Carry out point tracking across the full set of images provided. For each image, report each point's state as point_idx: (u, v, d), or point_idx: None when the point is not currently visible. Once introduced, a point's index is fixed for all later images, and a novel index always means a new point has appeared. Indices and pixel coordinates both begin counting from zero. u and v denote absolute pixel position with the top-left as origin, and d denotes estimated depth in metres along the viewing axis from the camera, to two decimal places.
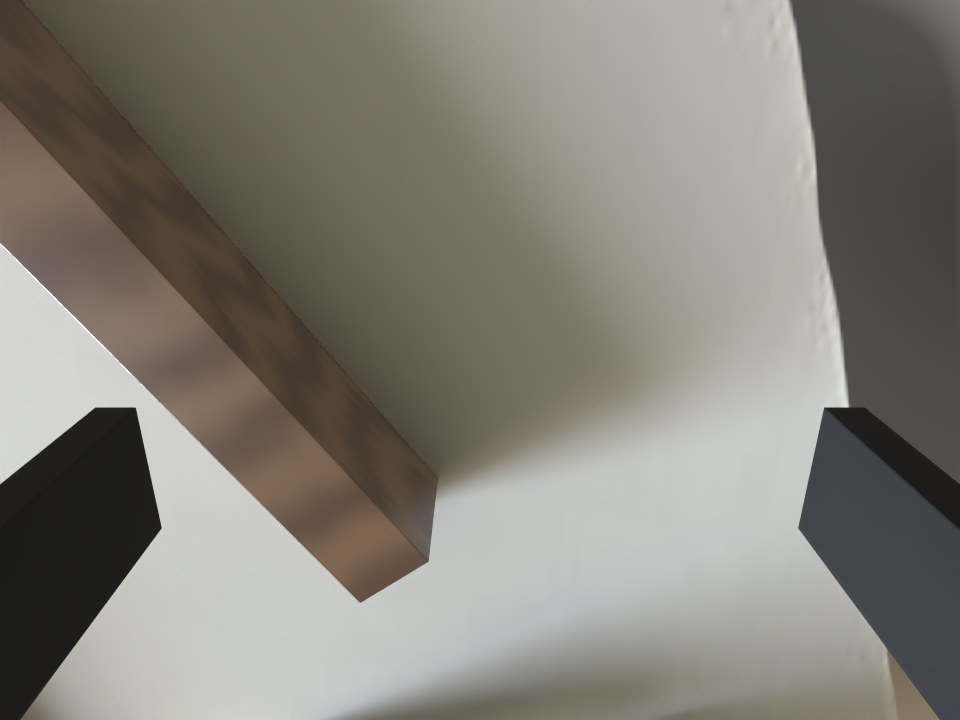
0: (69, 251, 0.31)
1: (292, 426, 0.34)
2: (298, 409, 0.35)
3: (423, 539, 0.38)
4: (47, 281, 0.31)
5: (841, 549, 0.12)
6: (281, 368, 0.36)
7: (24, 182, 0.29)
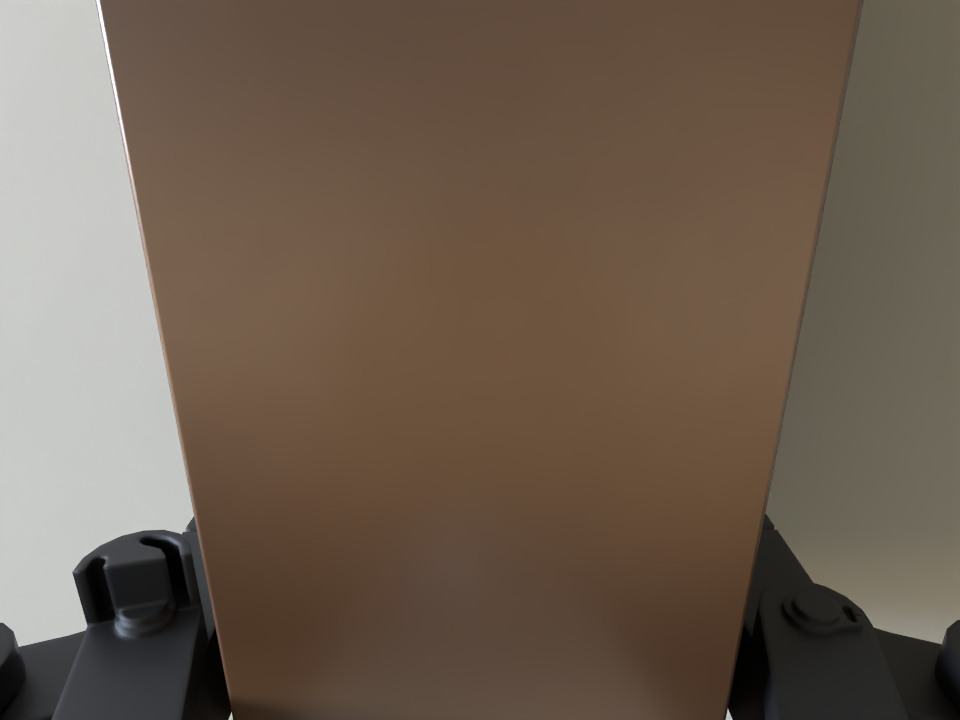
0: None
1: (787, 64, 0.04)
2: None
3: None
4: None
5: None
6: None
7: None
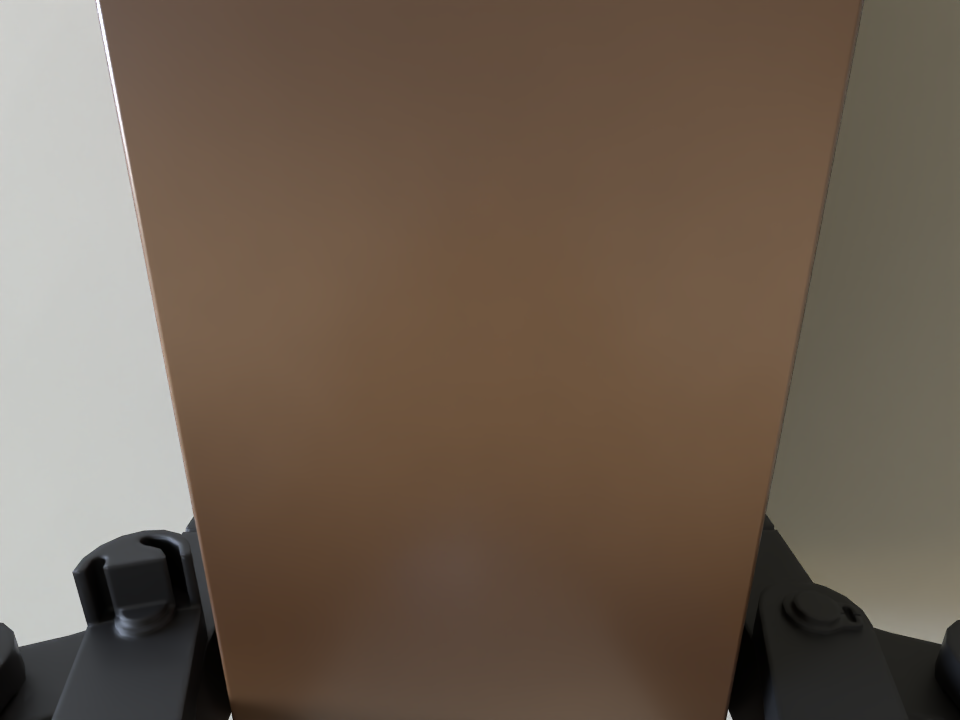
0: None
1: (789, 63, 0.04)
2: None
3: None
4: None
5: None
6: None
7: None
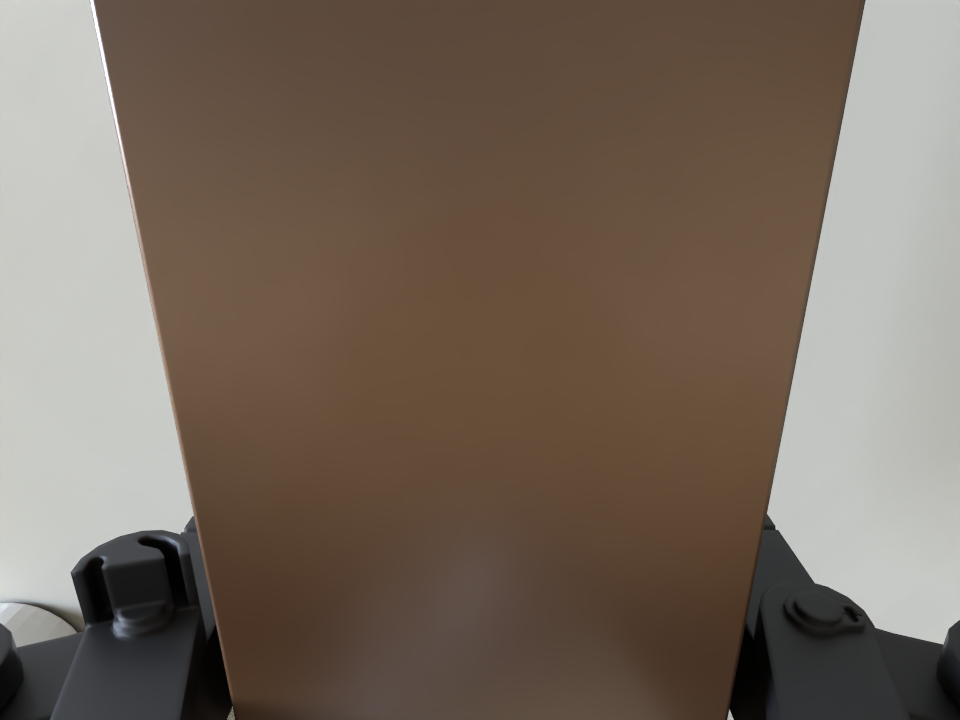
0: None
1: (789, 66, 0.04)
2: None
3: None
4: None
5: None
6: None
7: None
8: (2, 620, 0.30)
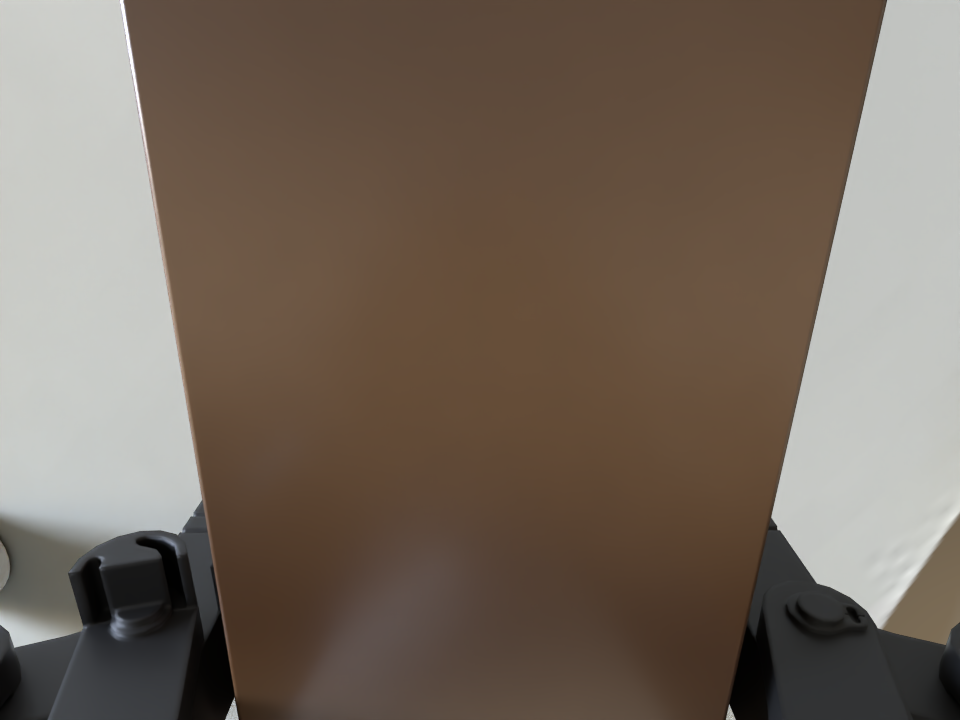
0: None
1: (809, 68, 0.04)
2: None
3: None
4: None
5: None
6: None
7: None
8: None
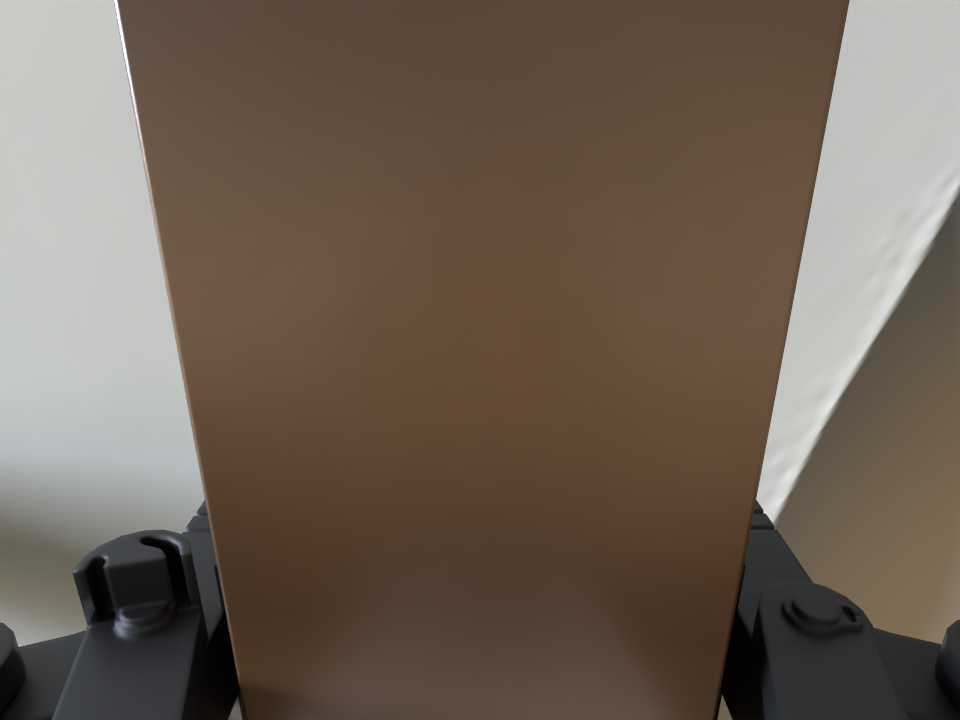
0: None
1: (776, 58, 0.05)
2: None
3: None
4: None
5: None
6: None
7: None
8: None
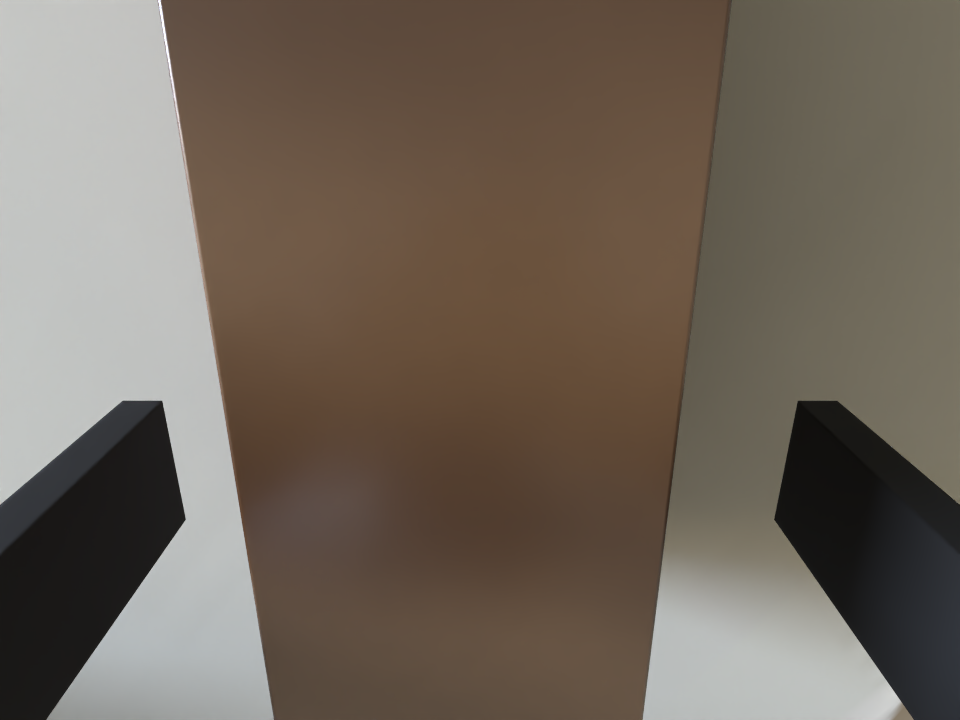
0: None
1: (676, 57, 0.06)
2: None
3: None
4: None
5: (813, 539, 0.12)
6: None
7: None
8: None
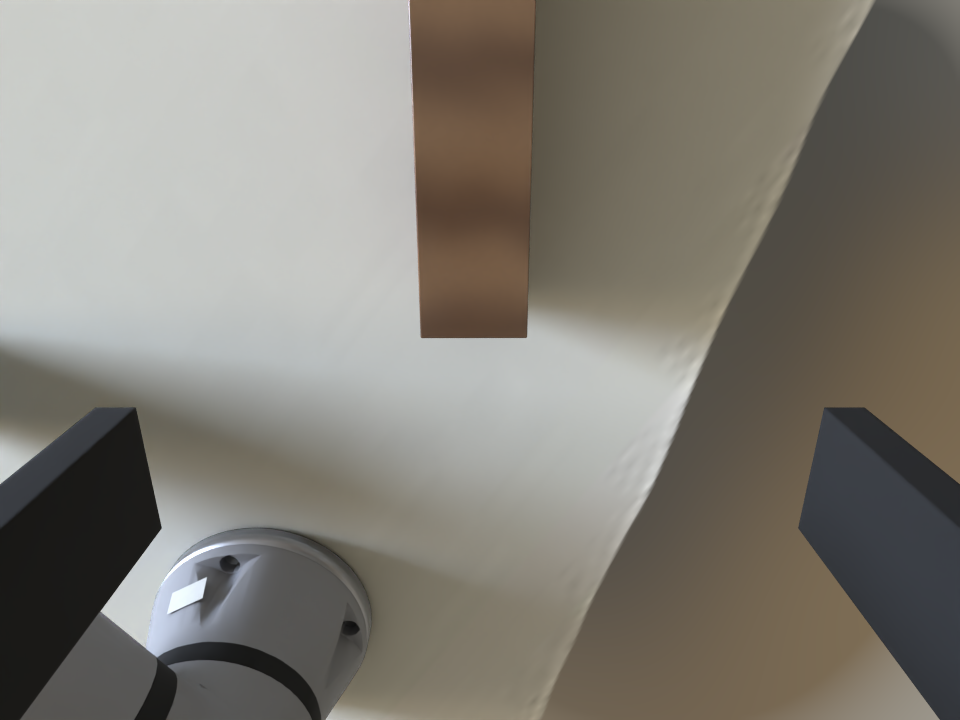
0: None
1: (522, 89, 0.27)
2: None
3: None
4: None
5: (841, 549, 0.12)
6: None
7: None
8: None
